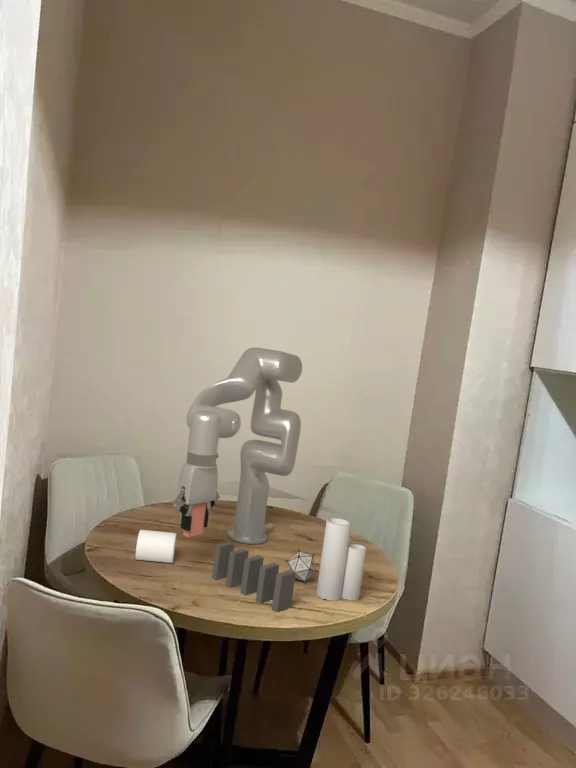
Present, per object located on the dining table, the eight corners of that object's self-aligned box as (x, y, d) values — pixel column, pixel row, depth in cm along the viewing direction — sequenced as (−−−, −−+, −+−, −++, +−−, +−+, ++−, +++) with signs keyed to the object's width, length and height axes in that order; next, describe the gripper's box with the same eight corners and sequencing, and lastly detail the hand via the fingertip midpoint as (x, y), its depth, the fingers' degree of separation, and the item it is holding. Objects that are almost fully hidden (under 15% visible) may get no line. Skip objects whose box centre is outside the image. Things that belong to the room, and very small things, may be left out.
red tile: (198, 531, 169) (202, 498, 168) (202, 533, 168) (206, 500, 167) (183, 535, 166) (187, 501, 164) (187, 537, 164) (191, 503, 163)
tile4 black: (254, 588, 167) (258, 555, 166) (259, 591, 166) (263, 557, 165) (240, 593, 163) (244, 558, 162) (245, 595, 162) (249, 561, 161)
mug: (171, 567, 174) (175, 538, 173) (134, 563, 173) (137, 535, 172) (175, 551, 186) (178, 524, 185) (140, 548, 185) (143, 521, 184)
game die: (292, 590, 178) (286, 554, 183) (322, 584, 178) (315, 548, 182) (287, 585, 170) (281, 548, 175) (319, 578, 170) (311, 541, 175)
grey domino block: (285, 605, 159) (290, 570, 159) (290, 607, 158) (295, 572, 158) (271, 609, 156) (276, 574, 155) (277, 612, 155) (282, 576, 154)
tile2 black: (225, 574, 174) (229, 541, 173) (230, 576, 173) (234, 543, 172) (211, 577, 170) (215, 544, 169) (216, 580, 169) (220, 547, 168)
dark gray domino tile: (239, 581, 170) (243, 548, 170) (244, 583, 169) (248, 550, 168) (225, 585, 167) (230, 551, 166) (230, 587, 165) (234, 553, 165)
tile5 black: (269, 596, 163) (274, 562, 162) (274, 599, 162) (279, 565, 161) (255, 601, 159) (260, 566, 159) (260, 604, 158) (265, 568, 157)
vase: (321, 601, 164) (332, 525, 163) (312, 589, 171) (322, 516, 170) (361, 601, 168) (372, 527, 166) (351, 589, 175) (361, 518, 173)
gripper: (216, 453, 173) (209, 518, 175) (165, 458, 161) (158, 528, 163) (235, 459, 168) (227, 526, 170) (184, 466, 156) (176, 538, 158)
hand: (193, 526), depth 167 cm, fingers closed on red tile, 4 cm apart
